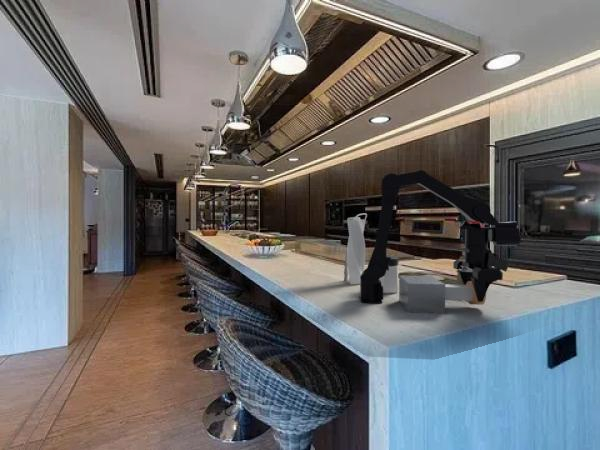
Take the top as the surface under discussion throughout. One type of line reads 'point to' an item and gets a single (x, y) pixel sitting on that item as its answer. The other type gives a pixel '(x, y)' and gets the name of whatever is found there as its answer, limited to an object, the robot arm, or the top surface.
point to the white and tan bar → (462, 293)
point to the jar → (391, 277)
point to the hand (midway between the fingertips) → (475, 298)
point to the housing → (422, 294)
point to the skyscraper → (355, 251)
